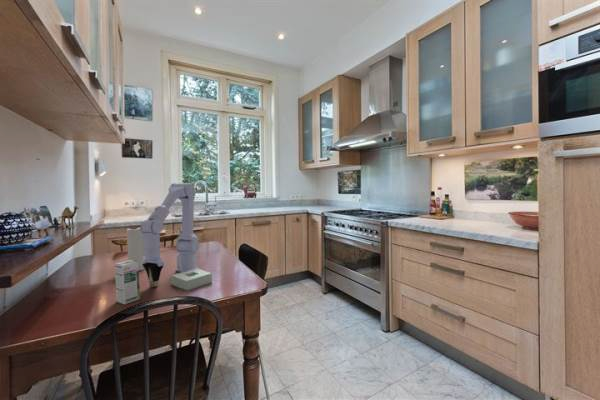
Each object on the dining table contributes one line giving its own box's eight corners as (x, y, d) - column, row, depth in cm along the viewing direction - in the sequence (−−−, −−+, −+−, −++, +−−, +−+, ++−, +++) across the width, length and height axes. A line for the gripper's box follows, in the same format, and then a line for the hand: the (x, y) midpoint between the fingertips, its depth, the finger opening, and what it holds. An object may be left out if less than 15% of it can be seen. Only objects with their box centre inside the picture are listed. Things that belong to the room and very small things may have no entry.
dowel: (148, 286, 115) (147, 267, 114) (156, 283, 117) (155, 265, 117) (151, 287, 113) (150, 268, 112) (159, 285, 115) (158, 266, 115)
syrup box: (124, 305, 98) (122, 265, 97) (116, 301, 101) (114, 262, 100) (140, 299, 103) (138, 261, 102) (132, 296, 106) (130, 259, 105)
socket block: (171, 284, 118) (171, 275, 118) (196, 276, 128) (196, 268, 127) (186, 290, 111) (186, 280, 111) (212, 282, 120) (211, 273, 120)
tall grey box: (125, 271, 137) (123, 229, 136) (135, 267, 143) (133, 227, 142) (137, 272, 136) (135, 229, 134) (147, 268, 141) (145, 227, 140)
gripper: (134, 247, 115) (136, 279, 116) (150, 252, 107) (152, 286, 107) (151, 244, 121) (153, 274, 122) (168, 249, 112) (169, 281, 113)
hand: (153, 280), depth 115 cm, fingers closed on dowel, 3 cm apart
